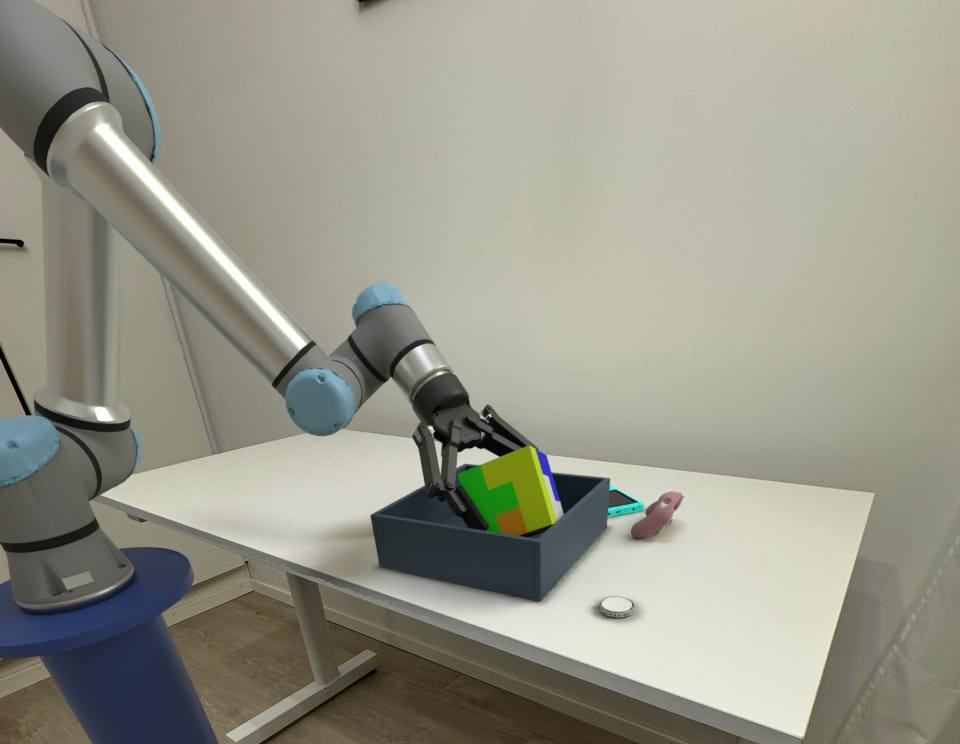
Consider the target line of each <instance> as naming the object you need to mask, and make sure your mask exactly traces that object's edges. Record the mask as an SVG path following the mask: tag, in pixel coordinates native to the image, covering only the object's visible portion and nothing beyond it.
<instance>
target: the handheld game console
mask: <svg viewBox="0 0 960 744" xmlns="http://www.w3.org/2000/svg"><path fill="white" fill-rule="evenodd" d="M644 505H645V503H644V502H642V501H640V500H638V499H636V498H635V497H633V496H631V495H629V494H628V493H626V492H624V491H622V490H620V489H619V488H616V487H615V486H613V485H611V484H610V490H609V505H608V518H612V517H618V516H622V515H627V514H632V513H638V512H642V511H644V508H645V506H644Z"/></svg>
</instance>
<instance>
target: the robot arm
mask: <svg viewBox="0 0 960 744" xmlns="http://www.w3.org/2000/svg"><path fill="white" fill-rule="evenodd" d="M0 129H1V130H2V132H4V134H5V135H6V136H7V137H8V138H10V140H12V142H13V143H14V144H15V145H16V146H17V147H18V148H19V149H20V150H21V151H22V152H23V157H24V159H25V161H26V162H27V164H28V165H29V166H30V168H31V169H32V170H33V172H35V174H36V176H37V177H38V179H39V180H40V183H41V213H42V214H41V215H42V217H41V218H42V247H43V248H42V249H43V250H42V251H43V284H44V285H43V289H44V290H43V291H44V292H43V293H44V325H45V328H44V329H45V330H44V331H45V361H46V368H45V369H46V384H45V385H43V386H41V387H40V388H38V389H36V390H35V391H34V392H33V412H34V413H33V415H17V416H10V417H5V418H0V546H1V548H2V550H3V551H4V553H5V555H6V560H7V566H8V572H9V573H8V574H9V580H11V587H12V593H13V598H14V600H15V601H16V603H17V605H18V606H19V608H20V609H21V611H23V612H25V613H28V614H33V615H53V614H61V613H66V612H71V611H76V610H79V609H83V608H86V607H90V606H93V605H95V604H98V603H101V602H103V601H106V600H108V599H110V598H112V597H114V596H116V595H118V594H120V593H121V592H123V591H124V590H126V589H127V588H128V587H130V586H131V585H132V584H133V583H134V581H135V580H136V577H137V574H136V571H135V569H134V567H133V565H132V563H131V562H130V560H129V559H128V558H127V557H126V556H125V555H124V554H123V553H122V552H121V550H120V548H119V547H118V546H117V545H116V544H115V542H113V541H112V540H111V539H110V537H108V535H107V534H106V533H105V532H104V530H103V529H102V528H101V525H100V523H99V521H98V519H97V517H96V515H95V513H94V510H93V508H92V506H91V504H90V502H91V501H92V500H94V499H96V498H97V497H99V496H101V495H103V494H105V493H107V492H108V491H110V490H112V489H113V488H116V487H118V486H119V485H122V484H123V483H125V482H126V481H127V480H128V479H129V478H130V477H131V476H132V475H133V474H134V473H135V471H136V470H137V469H138V467H139V465H140V463H141V460H142V450H143V449H142V443H141V440H140V436H139V434H138V432H137V431H135V430H134V428H133V424H132V423H131V417H132V416H131V412H130V409H128V408H127V407H126V405H125V404H124V403H123V402H122V401H121V398H120V397H121V396H120V395H121V371H122V370H121V368H122V343H123V342H122V341H123V314H124V288H125V287H124V286H125V261H126V260H125V259H126V242H127V243H128V244H129V245H130V246H131V247H133V249H135V251H136V252H137V253H138V254H139V255H140V256H141V257H142V258H143V259H145V260H146V262H147V263H148V264H150V265H151V267H153V269H154V270H155V271H157V273H158V274H159V275H161V277H162V278H163V279H165V281H166V282H167V283H168V284H169V285H170V286H171V287H172V288H174V290H175V291H176V292H178V294H179V295H180V296H182V298H183V299H184V300H185V301H186V302H188V304H189V305H191V306H192V307H193V309H194V310H195V311H196V312H197V313H198V314H199V315H200V316H201V317H203V318H204V320H206V322H208V324H209V325H210V326H211V327H213V329H214V330H215V331H216V332H217V333H218V334H219V335H220V336H221V337H223V339H224V340H226V342H228V344H230V346H231V347H232V348H234V349H235V351H236V352H238V354H239V355H240V356H241V357H242V358H244V360H245V361H247V362H248V363H249V365H250V366H251V367H253V369H254V370H255V371H257V373H258V374H260V375H261V377H262V378H264V379H265V380H266V382H267V383H269V385H270V386H272V388H274V390H275V391H277V393H278V394H279V395H280V396H281V397H282V398H283V399H284V401H285V407H286V410H287V413H288V415H289V417H290V419H291V420H292V422H293V423H294V424H295V426H296V427H298V428H299V429H300V430H301V431H302V432H304V433H306V434H308V435H310V436H315V437H328V436H332V435H334V434H336V433H338V432H339V431H341V430H342V429H345V428H346V427H347V426H348V425H350V423H352V420H353V418H354V416H355V415H356V414H357V412H358V411H359V410H360V409H361V407H362V406H363V405H364V404H365V403H366V402H367V401H368V400H369V399H370V398H371V397H372V396H373V395H374V394H376V392H377V391H378V390H379V389H380V388H381V387H382V386H383V385H384V384H386V383H387V382H388V381H389V380H390V379H392V381H393V382H394V383H395V385H396V387H397V388H398V389H399V391H400V393H401V394H402V396H403V397H404V399H405V400H406V402H407V403H408V404H409V406H411V409H412V411H413V413H414V415H416V417H417V419H418V420H419V423H418V425H417V426H416V428H415V430H414V432H413V434H412V435H411V438H412V440H413V442H414V443H415V445H416V447H417V449H418V454H419V459H420V466H421V472H422V477H423V482H424V486H425V489H426V494H427V496H428V497H429V498H434V497H435V496H437V499H438V500H439V501H441V502H443V501H445V500H446V501H447V503H448V504H449V506H450V507H451V508H452V510H453V512H454V513H455V515H456V516H458V517H462V519H463V521H464V522H465V524H466V525H467V527H468V528H471V529H478V530H484V531H486V530H487V529H488V528H489V525H488V524H487V522H486V521H485V519H484V518H483V516H482V515H481V513H480V512H479V510H478V509H477V507H476V506H475V504H474V503H473V501H472V500H471V498H470V497H469V495H468V494H467V492H466V491H465V489H464V488H463V486H462V485H461V486H458V487H457V488H456V489H455V483H456V468H458V465H457V464H458V454H459V453H462V452H463V451H465V450H472V449H473V448H477V449H479V450H486V451H488V452H490V453H492V454H493V455H495V456H497V457H498V458H499V457H501V456H504V455H506V454H509V453H511V452H514V451H516V450H519V449H521V448H524V447H526V446H528V445H530V446H531V447H533V448H535V449H537V450H538V451H539V448H538V447H537V446H536V445H535V444H534V443H533V442H532V441H530V440H529V439H528V438H526V436H524V435H523V434H522V433H520V432H519V431H518V430H517V429H516V428H514V427H513V426H512V425H510V424H509V423H508V422H507V421H505V419H503V418H502V417H501V416H500V415H499V414H498V413H497V411H495V409H494V408H493V406H492V405H491V404H486V405H484V407H483V408H482V410H480V411H476V410H475V409H474V408H473V407H472V406H471V403H470V401H471V400H470V395H469V392H468V390H466V388H465V386H464V384H463V383H462V382H461V380H460V379H459V377H458V376H457V375H456V373H454V370H453V368H452V366H451V365H450V363H449V362H448V361H447V359H446V358H445V356H444V354H443V353H442V352H441V350H440V349H439V347H438V346H437V345H436V344H435V342H434V341H433V339H432V337H431V336H430V334H429V333H428V331H427V329H426V328H425V325H423V323H422V322H421V320H420V319H419V317H418V315H417V314H416V312H415V310H414V309H413V307H411V306H410V304H409V303H408V302H407V300H406V299H405V298H404V296H403V295H402V293H401V292H400V291H399V290H398V289H397V287H396V286H394V285H392V284H391V283H388V282H377V283H374V284H371V285H369V286H367V287H366V288H365V289H363V290H362V291H361V292H360V293H359V294H358V296H357V297H356V301H355V302H354V304H353V305H352V307H351V308H352V309H351V317H352V320H353V322H354V325H355V327H356V328H355V329H354V330H352V332H351V333H350V334H349V335H348V336H347V338H346V339H345V340H344V341H343V342H342V343H341V344H340V345H339V346H338V347H336V349H334V350H333V351H332V352H331V353H330V354H329V355H328V354H327V353H326V352H325V350H323V349H322V348H321V346H319V345H318V343H316V341H315V340H314V338H313V337H312V336H311V335H310V334H309V333H308V332H307V331H306V330H305V329H304V328H303V326H302V325H301V324H300V323H299V322H298V321H297V320H296V319H295V318H294V317H293V315H291V313H290V312H289V311H288V310H287V309H286V308H285V307H284V306H283V305H282V303H280V301H279V300H278V299H277V298H276V297H275V296H274V295H273V294H272V293H271V291H269V289H268V288H267V287H266V286H265V285H264V284H263V283H262V282H261V281H260V280H259V279H258V278H257V276H256V275H255V274H254V273H253V272H252V271H251V270H250V269H249V267H248V266H247V265H246V264H245V263H244V262H243V261H242V259H240V257H238V256H237V254H236V253H235V252H234V251H233V250H232V249H231V248H230V247H229V245H227V244H226V243H225V241H224V240H223V239H222V238H221V237H220V236H219V235H218V234H217V233H216V232H215V231H214V229H213V228H212V227H211V226H210V225H209V224H208V222H207V221H205V220H204V218H203V217H202V216H201V215H200V214H199V213H198V212H197V211H196V210H195V209H194V207H192V206H191V204H190V203H189V202H188V201H187V199H185V198H184V196H182V194H181V193H180V192H179V191H178V190H177V189H176V188H175V187H174V185H172V183H171V182H170V181H169V180H168V179H167V178H166V177H165V176H164V175H163V174H162V172H160V171H159V169H158V168H157V167H156V166H155V164H156V162H157V160H158V158H159V154H160V150H161V144H162V143H161V138H162V136H161V135H162V134H161V127H160V120H159V117H158V113H157V110H156V107H155V105H154V102H153V100H152V97H151V96H150V94H149V92H148V91H147V89H146V87H145V85H144V84H143V82H142V81H141V79H140V77H139V76H138V75H137V74H136V73H135V71H134V70H133V69H132V68H131V67H130V65H128V64H127V63H126V62H125V61H124V60H123V59H122V58H120V56H119V55H118V54H117V53H116V52H114V51H113V50H112V49H111V48H110V47H109V46H108V45H106V44H104V43H103V42H101V41H99V40H98V39H96V38H95V36H91V35H90V34H88V33H86V32H85V31H83V30H81V29H79V28H78V27H76V26H74V25H73V24H72V23H70V22H68V21H66V20H65V19H63V18H61V17H60V16H59V15H57V14H56V13H54V12H53V11H52V10H50V9H49V8H47V7H46V6H44V5H42V3H41V4H40V3H39V2H38V1H36V0H0ZM482 433H483V435H482ZM435 440H436V441H437V442H439V443H441V449H440V450H441V451H440V458H441V464H440V465H441V466H440V465H439V459H438V454H437V448H436V443H435V442H436V441H435Z"/></svg>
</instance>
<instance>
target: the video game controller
mask: <svg viewBox="0 0 960 744" xmlns="http://www.w3.org/2000/svg"><path fill="white" fill-rule="evenodd" d="M684 499H685V495H683V494H682V492H679V491H674V490H673V489H671V491H667V492H665V493H663V494H661V495H660V496H659V498H658V500H656V501H654V502H652V503H651V504H649V505H648V506H647V508H645V517H643V518H641V519H640V520H638V521H637V522H635V523H634V524H633V525H632V526H631V528H630V535H631V536H632V537H633V538H636V539H638V538H641V539H642V538H646V537H649V536H651V535H653V534H656V535H658V534H659V533H660V532H661V530H662V529H663V528H664V527H665V526H666V525H668V526H672V524H674V522H675V518H673V516H674V513H675V512H676V511H677V510H678V509H679V508H680V506H681V505H682V502H683V500H684Z"/></svg>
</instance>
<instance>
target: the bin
mask: <svg viewBox="0 0 960 744" xmlns="http://www.w3.org/2000/svg"><path fill="white" fill-rule="evenodd" d="M479 465H480V464H474V463H472V464H471V463H463V464H461V465H459V466H457V468H456V483H455V489H456V488H457V487H458V486H461V485H460V481H459V478H458V475H457V474H459V473H461V472H464V471H466V470H469V469H471V468H474V467H476V466H479ZM551 472H552V476H553V479H554V483H555V486H556V489H557V493H558V496H559V500H560V503H561V507H562V510H563V513H564V515H563V516H562V517H561V518H560V519H559V520H558V521H557V522H556V523H554V524H553V525H552V526H551V527H550V528H549V529H548V530H547V531H545V532H543V533H540V534H537V535H534V536H531V537H522V536H516V535H509V534H503V533H497V532H490V531H484V530H478V529H471V528H468V527H467V525H466V524H465V522H464V521H463V519H462V517H458V516H456V515H455V513H454V512H453V510H452V508H451V507H450V506H449V504H448V503H447V501H446V500H445V501H443V502H441V501H439V500H438V499H437V496H435V497H434V498H429V497H428V496H427V494H426V489H425V485H423V486H420V487H419V488H417V489H415V490H413V491H412V492H410V493H408V494H406V495H404V496H403V497H401V498H398V499H397V500H396V501H393V502H391V503H389V504H388V505H386V506H384V507H382V508H379V510H377V511H375V512H373V513H371V514H370V521H371V526H372V532H373V537H374V538H373V540H374V545H375V549H376V555H377V561H378V567H379V568H382V569H385V570H390V571H395V572H400V573H405V574H409V575H415V576H419V577H423V578H428V579H432V580H437V581H441V582H442V581H443V582H448V583H451V584H456V585H461V586H465V587H471V588H476V589H480V590H485V591H489V592H493V593H499V594H503V595H507V596H513V597H516V598H517V597H518V598H522V599H527V600H532V601H537V602H542V601H543V599H544V598H545V597H546V596H547V595H548V594H549V593H550V592H551V591H552V590H553V588H554V587H555V586H556V585H558V583H559V582H560V581H561V579H562V578H563V577H564V576H565V575H566V574H568V572H569V570H570V569H571V568H572V567H573V566H575V564H576V563H577V562H578V561H579V560H580V559H581V557H582V556H583V555H584V554H585V553H586V552H587V551H588V550H589V548H590V547H591V546H592V545H594V543H595V542H596V541H597V540H598V539H599V537H600V536H602V534H604V532H605V531H606V530H607V529H608V520H609V519H608V518H609V517H608V505H609V490H610V485H611V478H610V477H605V476H593V475H584V474H574V473H562V472H553V471H551Z"/></svg>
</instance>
